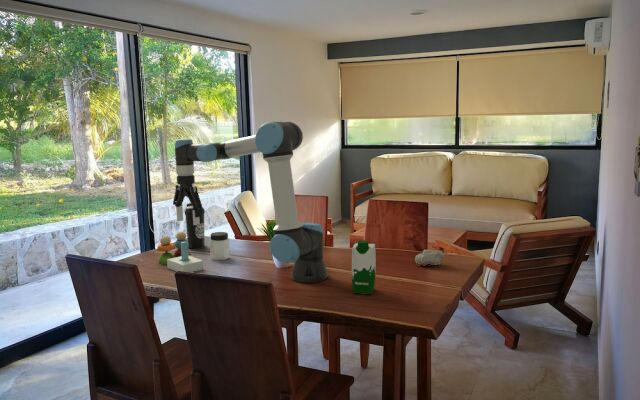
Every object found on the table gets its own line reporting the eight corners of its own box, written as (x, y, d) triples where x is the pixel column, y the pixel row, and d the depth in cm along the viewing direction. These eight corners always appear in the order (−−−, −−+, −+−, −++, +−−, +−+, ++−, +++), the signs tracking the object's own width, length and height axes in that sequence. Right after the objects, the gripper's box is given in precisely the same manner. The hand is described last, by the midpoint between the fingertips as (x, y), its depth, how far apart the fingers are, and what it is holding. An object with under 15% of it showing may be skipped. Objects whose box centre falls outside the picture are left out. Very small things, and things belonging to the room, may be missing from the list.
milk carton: (350, 294, 194) (350, 242, 191) (354, 287, 203) (354, 237, 200) (373, 296, 192) (373, 243, 189) (376, 288, 201) (376, 238, 198)
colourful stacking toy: (189, 265, 237) (188, 238, 235) (154, 263, 240) (153, 237, 238) (205, 255, 255) (203, 230, 253) (172, 254, 257) (170, 229, 256)
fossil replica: (411, 264, 234) (422, 272, 225) (411, 247, 232) (422, 254, 223) (435, 259, 238) (447, 267, 229) (435, 242, 236) (447, 249, 227)
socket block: (203, 269, 229) (203, 260, 229) (183, 274, 222) (183, 265, 222) (187, 263, 239) (186, 255, 239) (167, 267, 232) (166, 259, 232)
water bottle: (196, 250, 264) (193, 205, 260) (182, 247, 269) (179, 204, 266) (210, 246, 272) (208, 203, 269) (196, 243, 278) (194, 201, 274)
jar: (232, 258, 247) (231, 233, 246) (217, 261, 242) (216, 236, 240) (223, 254, 254) (222, 230, 252) (208, 257, 249) (207, 233, 247)
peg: (190, 268, 231) (189, 242, 229) (184, 270, 229) (183, 243, 227) (186, 267, 233) (185, 241, 231) (180, 268, 231) (179, 242, 229)
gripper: (208, 175, 219) (211, 224, 222) (178, 172, 236) (181, 218, 239) (193, 177, 214) (196, 227, 217) (163, 174, 231) (166, 220, 234)
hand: (188, 222), depth 228 cm, fingers open, 13 cm apart
